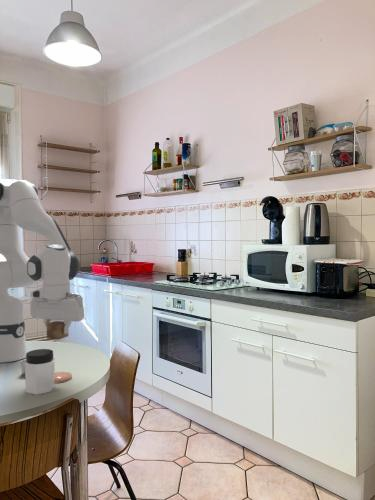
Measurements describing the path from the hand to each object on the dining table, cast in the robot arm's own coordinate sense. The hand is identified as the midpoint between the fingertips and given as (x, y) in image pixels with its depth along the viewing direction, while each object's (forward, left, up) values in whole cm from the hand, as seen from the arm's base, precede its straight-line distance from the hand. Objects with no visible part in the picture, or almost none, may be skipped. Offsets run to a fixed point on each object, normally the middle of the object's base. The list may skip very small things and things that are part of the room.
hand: (57, 332), depth 140 cm
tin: (-13, 0, -16) cm, 21 cm away
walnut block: (0, 0, -2) cm, 2 cm away
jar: (+1, -10, -16) cm, 19 cm away
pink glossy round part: (0, 0, -16) cm, 16 cm away
